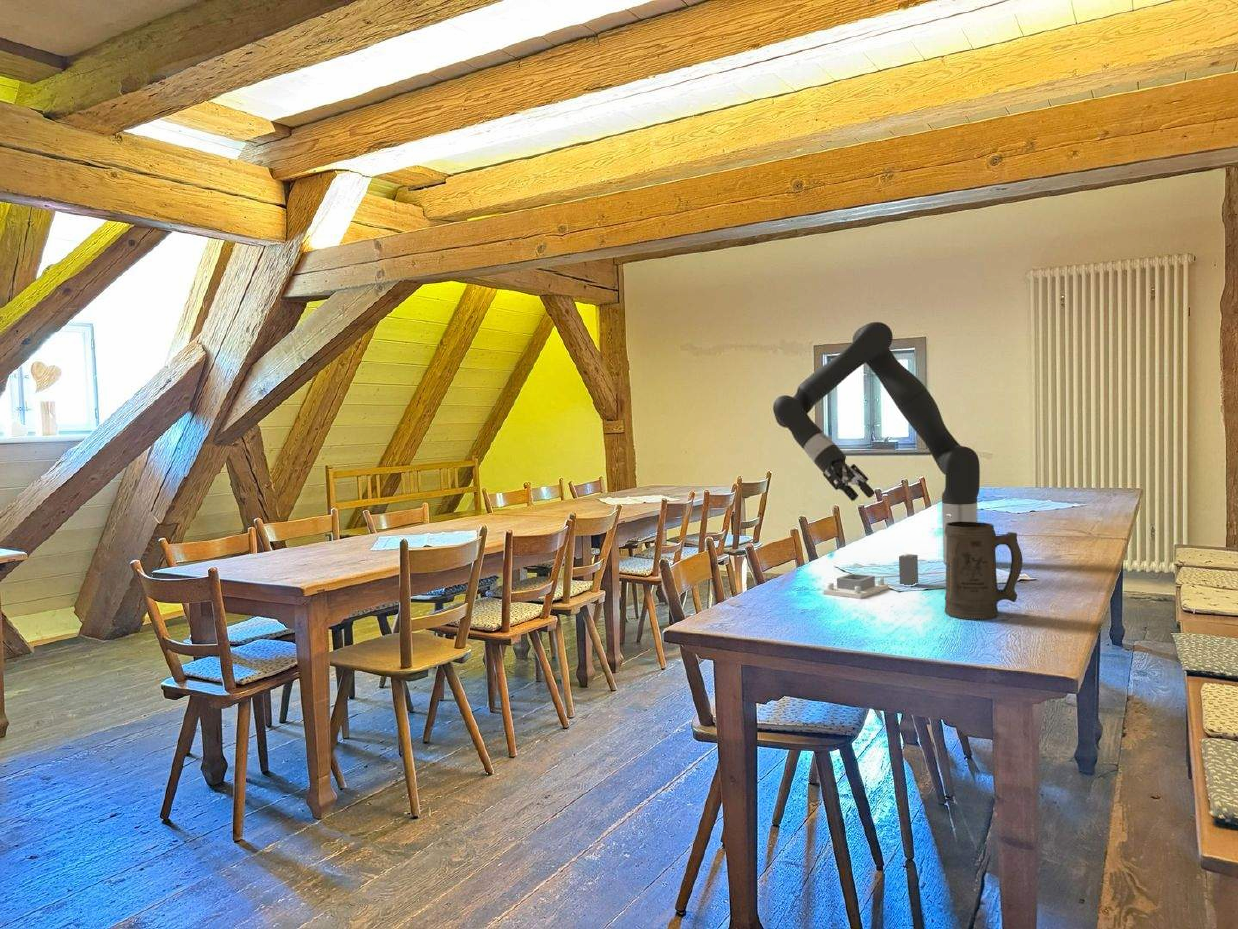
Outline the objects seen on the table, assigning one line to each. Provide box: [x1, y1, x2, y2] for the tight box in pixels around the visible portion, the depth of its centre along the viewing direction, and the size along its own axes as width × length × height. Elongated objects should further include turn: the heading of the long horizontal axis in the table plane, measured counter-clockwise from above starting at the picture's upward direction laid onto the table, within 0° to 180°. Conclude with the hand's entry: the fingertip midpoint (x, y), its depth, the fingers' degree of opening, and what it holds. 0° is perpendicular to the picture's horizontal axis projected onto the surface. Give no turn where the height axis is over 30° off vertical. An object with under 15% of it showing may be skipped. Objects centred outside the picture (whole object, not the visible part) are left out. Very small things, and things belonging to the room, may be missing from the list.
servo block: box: [898, 553, 919, 585], centre depth 213 cm, size 4×3×8 cm
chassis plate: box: [822, 573, 890, 600], centre depth 208 cm, size 14×10×4 cm
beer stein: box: [944, 521, 1023, 620], centre depth 180 cm, size 15×11×20 cm
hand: (864, 497), depth 220 cm, fingers open, 8 cm apart
